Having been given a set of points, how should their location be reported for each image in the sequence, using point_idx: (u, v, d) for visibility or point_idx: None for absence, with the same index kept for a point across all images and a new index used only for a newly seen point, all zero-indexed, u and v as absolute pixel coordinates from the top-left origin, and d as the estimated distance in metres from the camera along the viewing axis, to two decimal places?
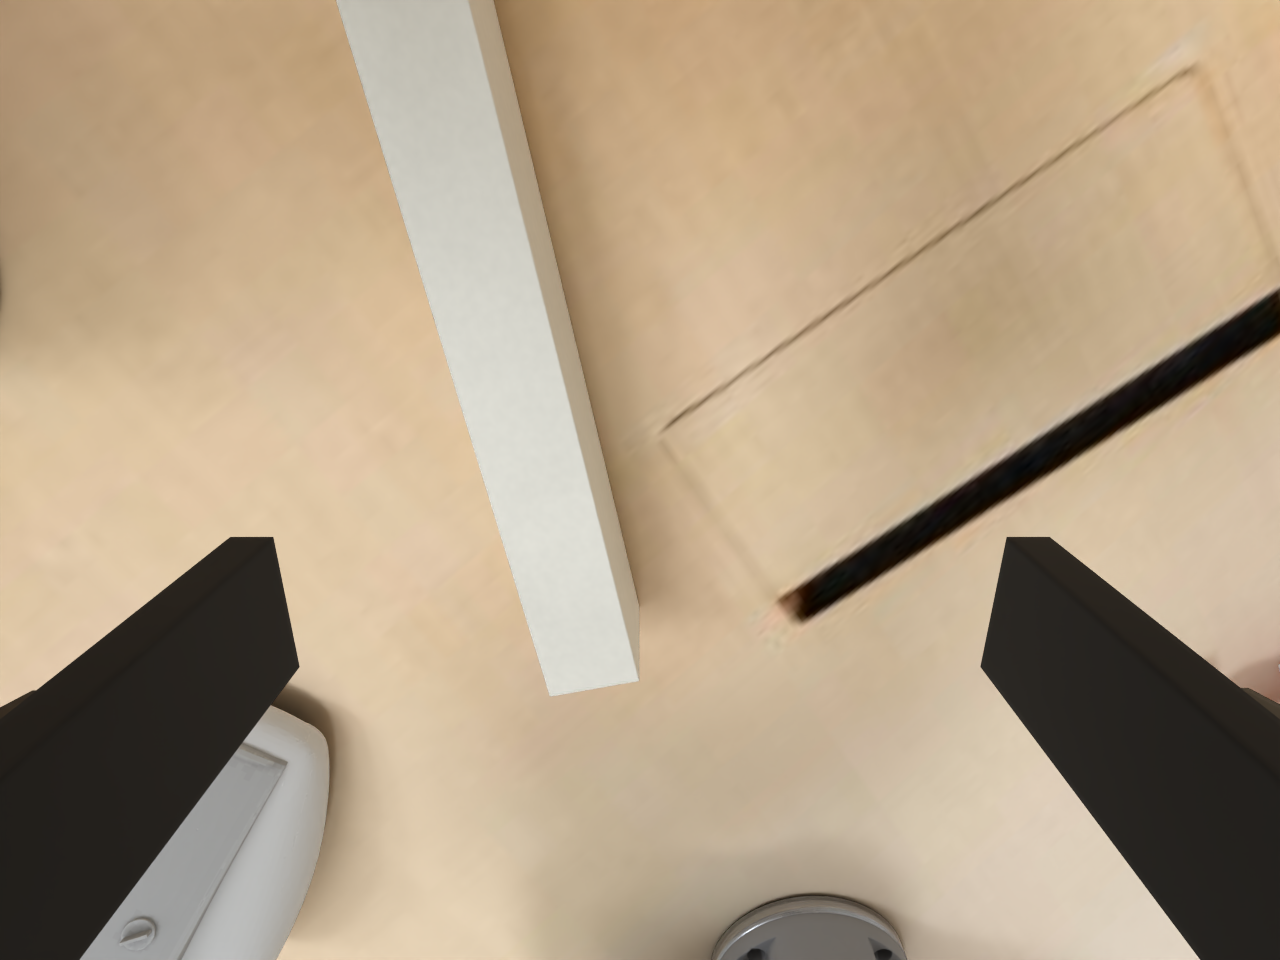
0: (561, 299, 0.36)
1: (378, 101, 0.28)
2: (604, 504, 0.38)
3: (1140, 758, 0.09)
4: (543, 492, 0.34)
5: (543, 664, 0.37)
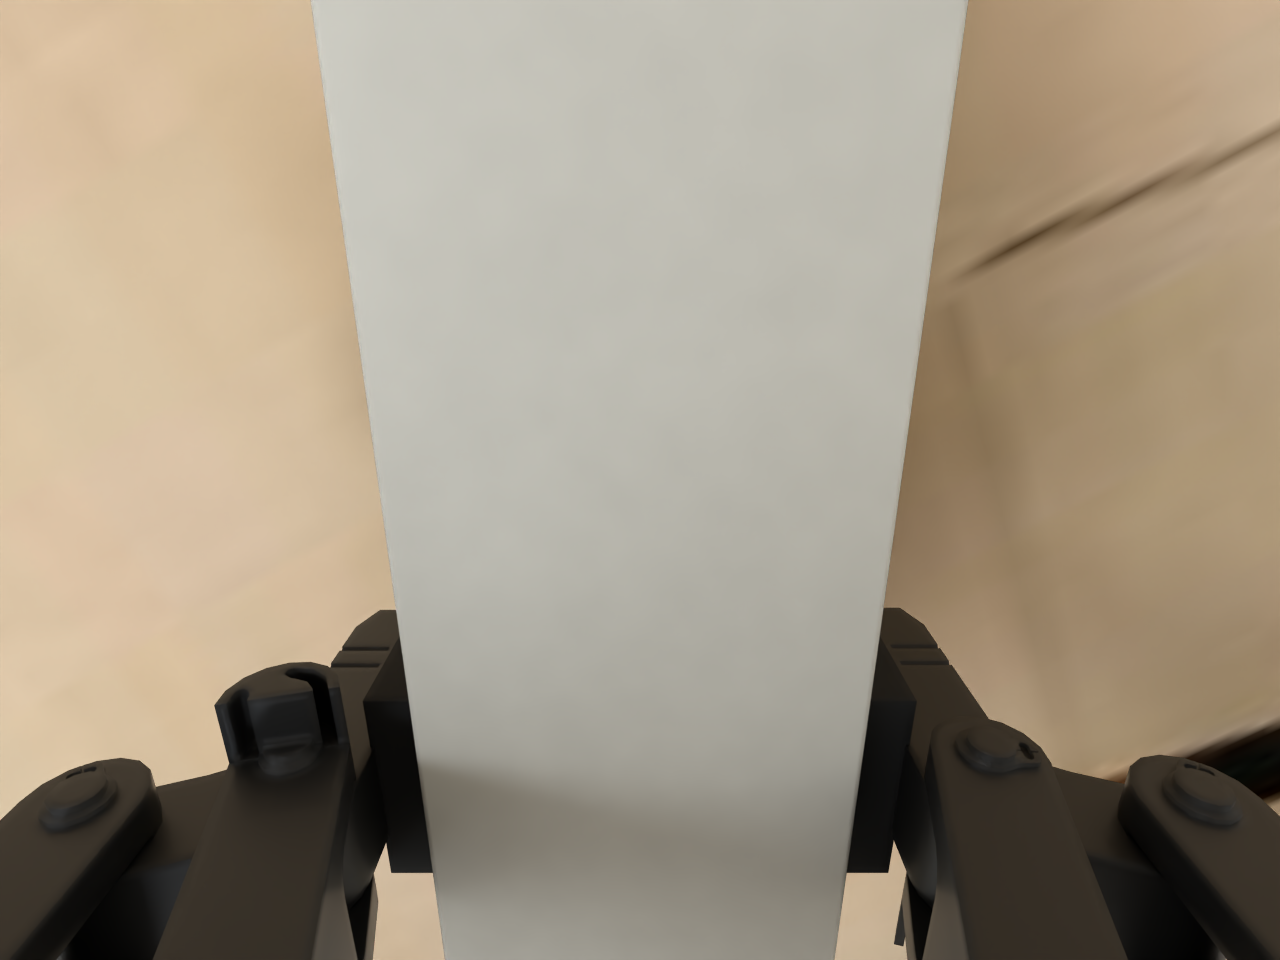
0: None
1: None
2: None
3: None
4: (662, 293, 0.06)
5: None
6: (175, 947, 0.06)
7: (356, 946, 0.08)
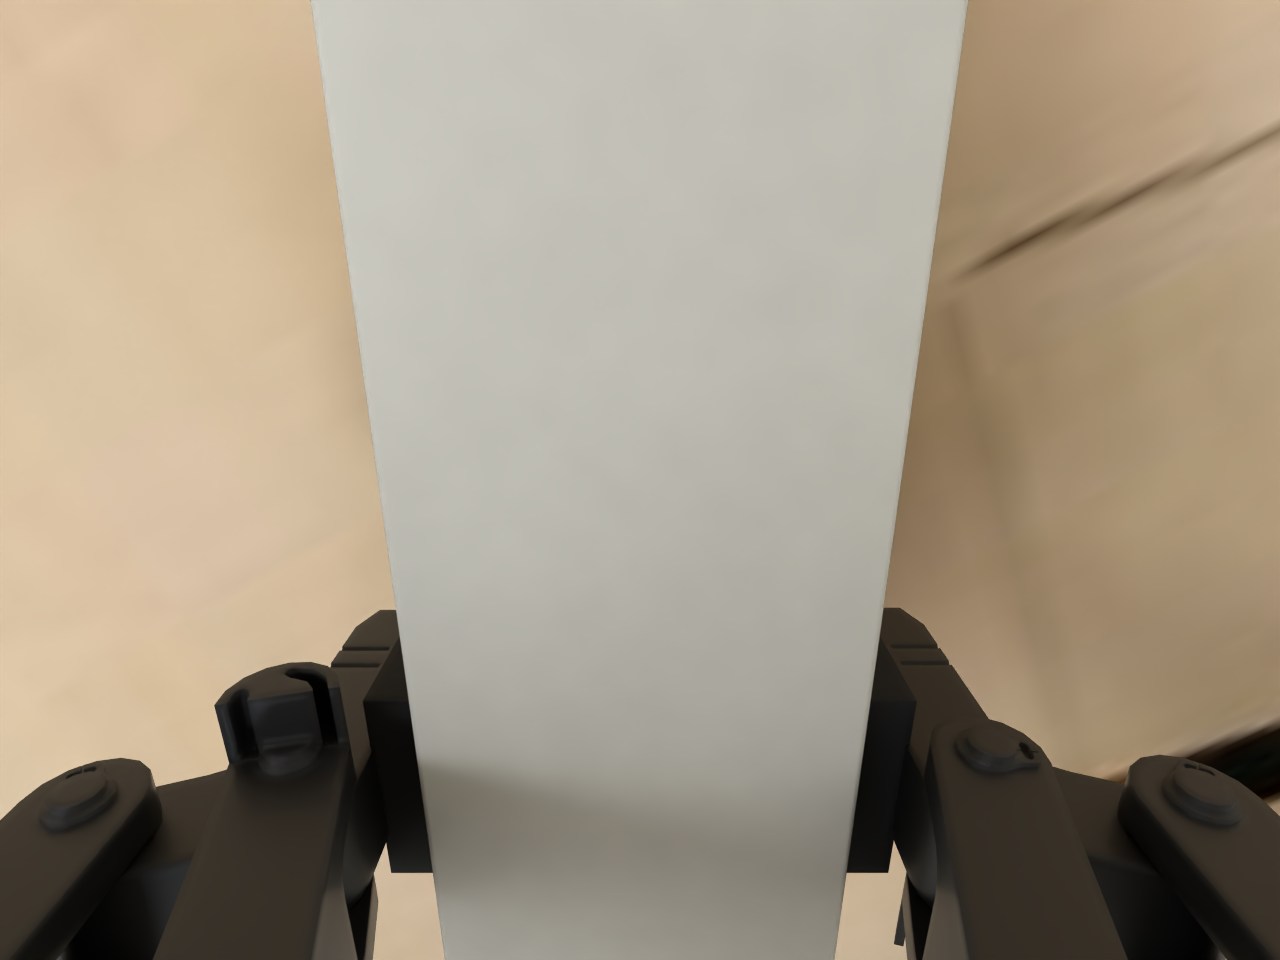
0: None
1: None
2: None
3: None
4: (662, 294, 0.06)
5: None
6: (175, 947, 0.06)
7: (356, 946, 0.08)
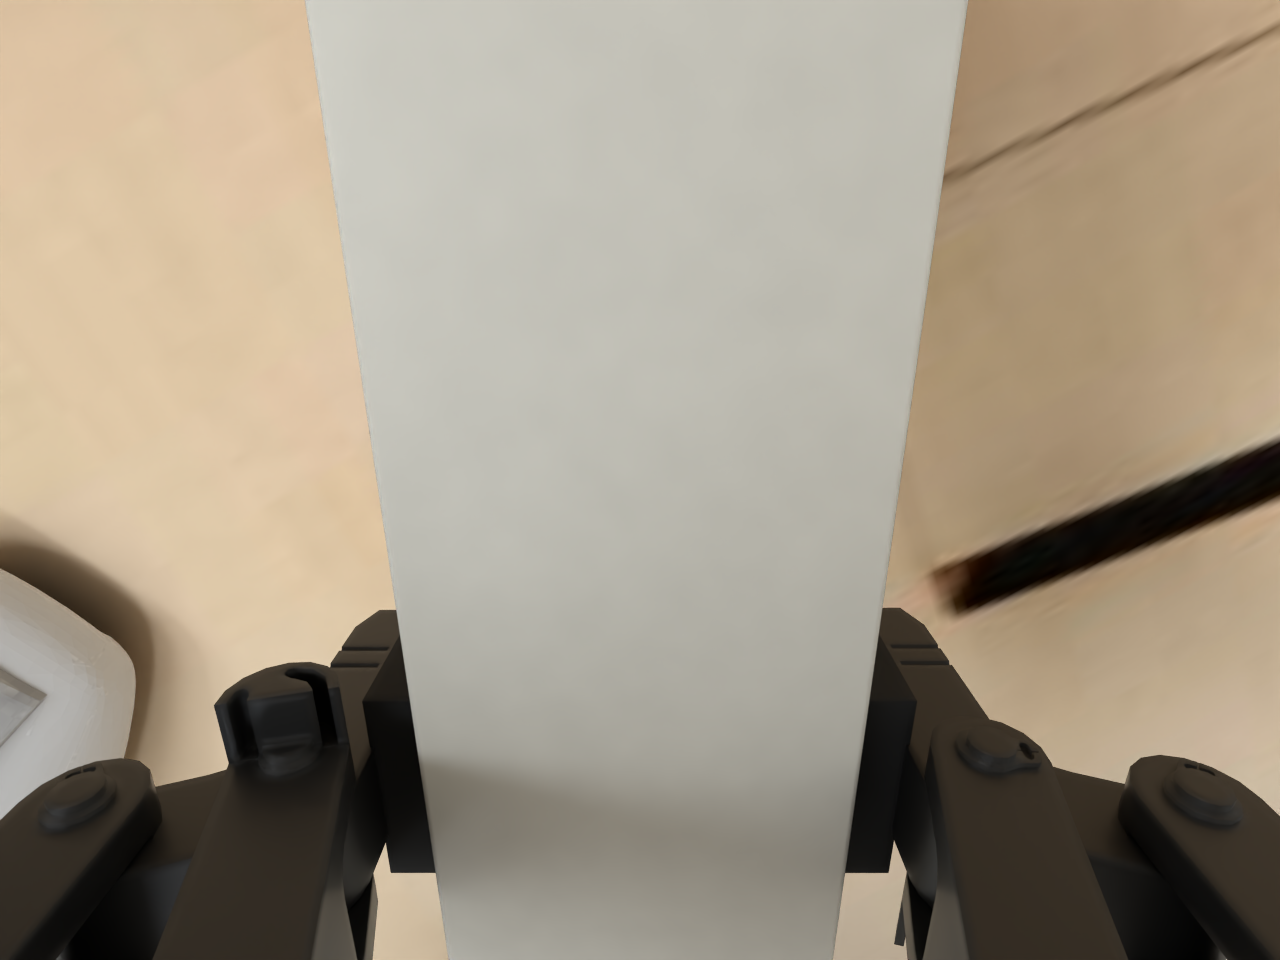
0: None
1: None
2: None
3: None
4: (661, 297, 0.06)
5: None
6: (174, 948, 0.06)
7: (355, 946, 0.08)
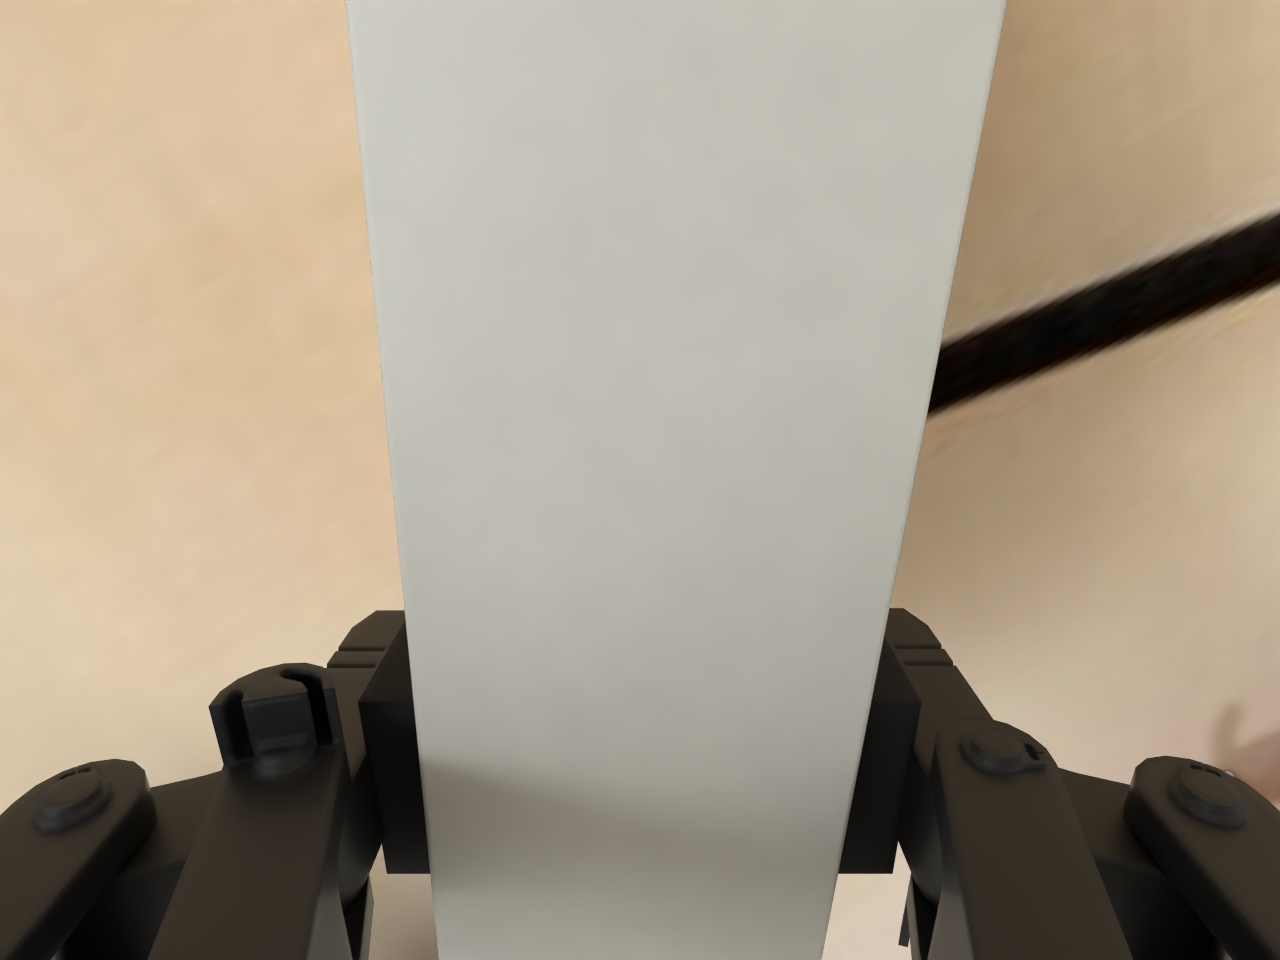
0: None
1: None
2: None
3: None
4: (686, 285, 0.06)
5: None
6: (169, 949, 0.06)
7: (351, 947, 0.08)
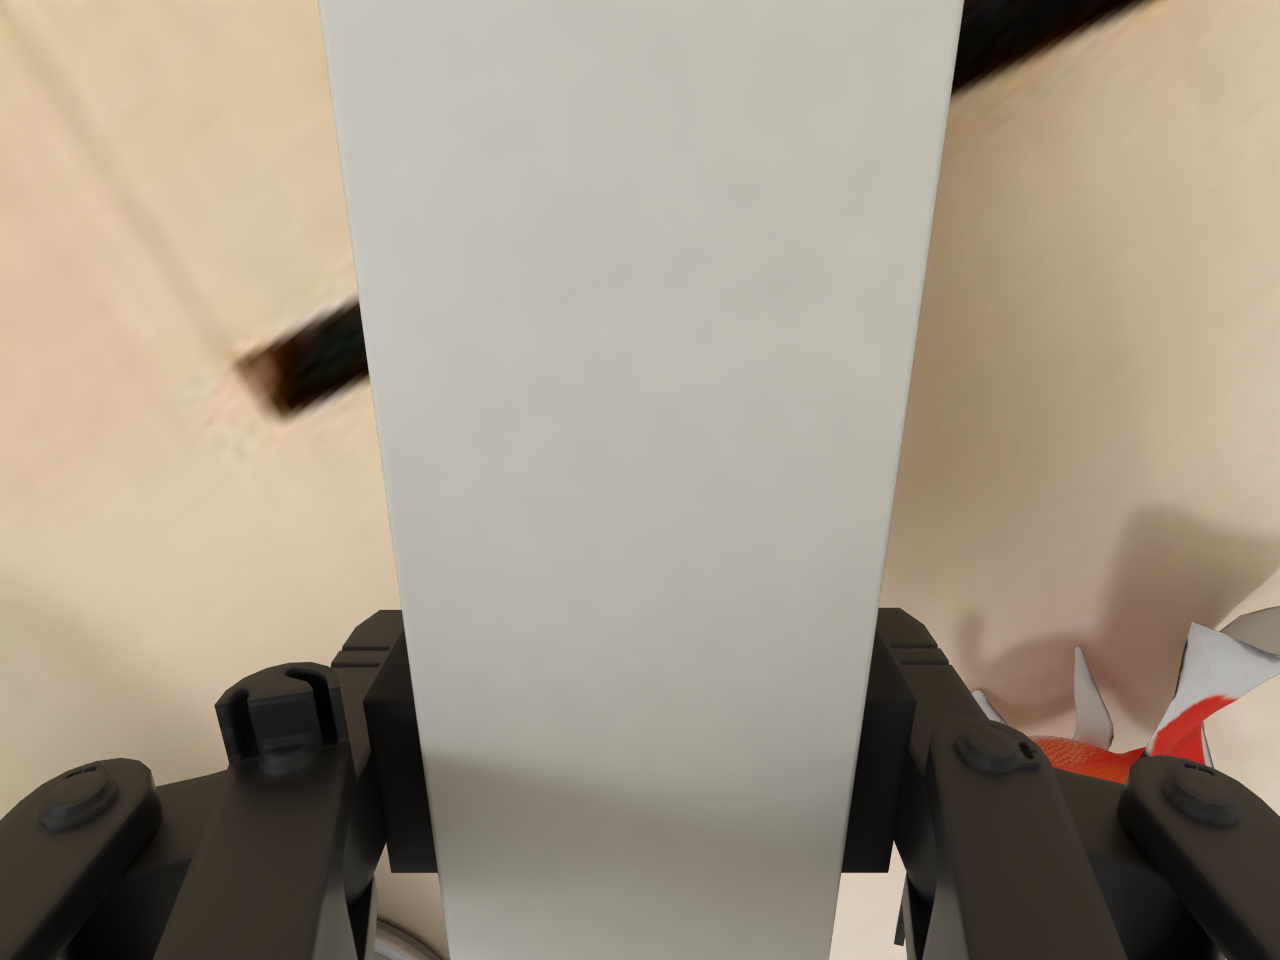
0: None
1: None
2: None
3: None
4: (663, 277, 0.06)
5: None
6: (174, 947, 0.06)
7: (356, 946, 0.08)
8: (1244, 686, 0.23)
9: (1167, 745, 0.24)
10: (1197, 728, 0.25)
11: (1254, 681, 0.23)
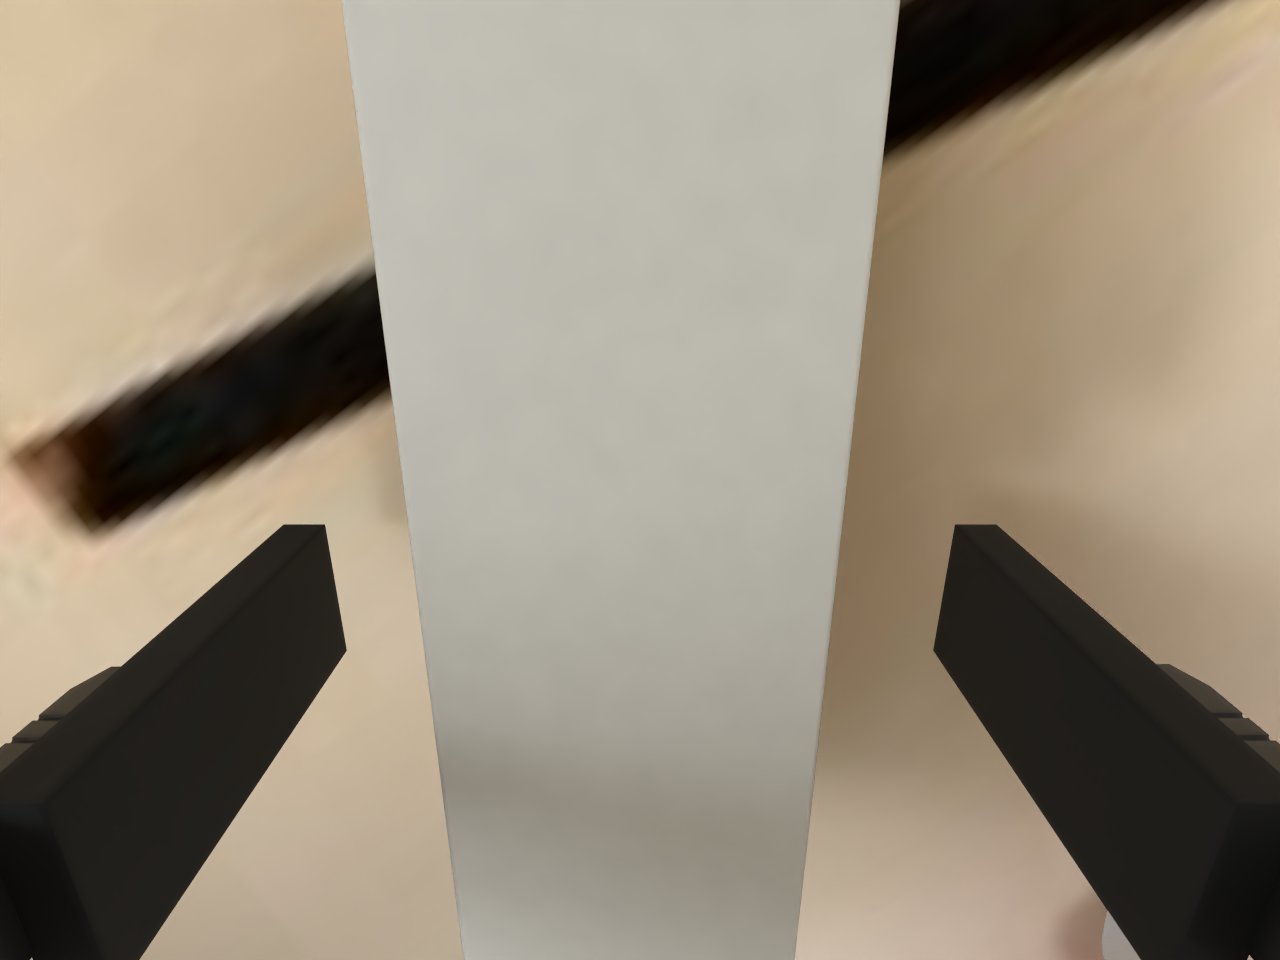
0: None
1: None
2: None
3: (1064, 729, 0.10)
4: (643, 285, 0.07)
5: (472, 950, 0.10)
6: None
7: None
8: None
9: None
10: None
11: None
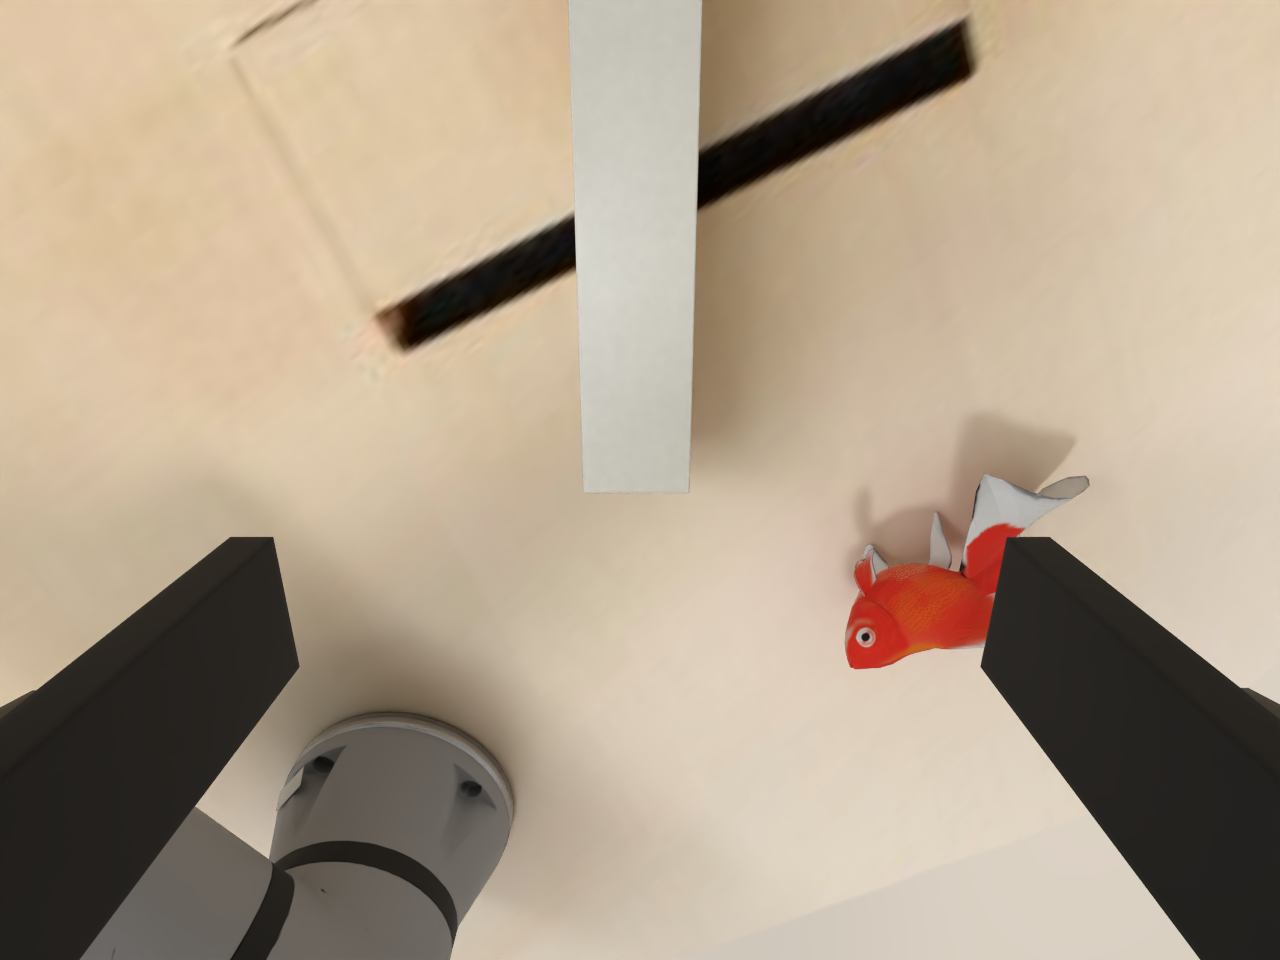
0: None
1: None
2: None
3: (1139, 757, 0.09)
4: (640, 230, 0.29)
5: (586, 451, 0.32)
6: None
7: None
8: (1020, 516, 0.36)
9: (978, 560, 0.37)
10: None
11: (1026, 513, 0.36)
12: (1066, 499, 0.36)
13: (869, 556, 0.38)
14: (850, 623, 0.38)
